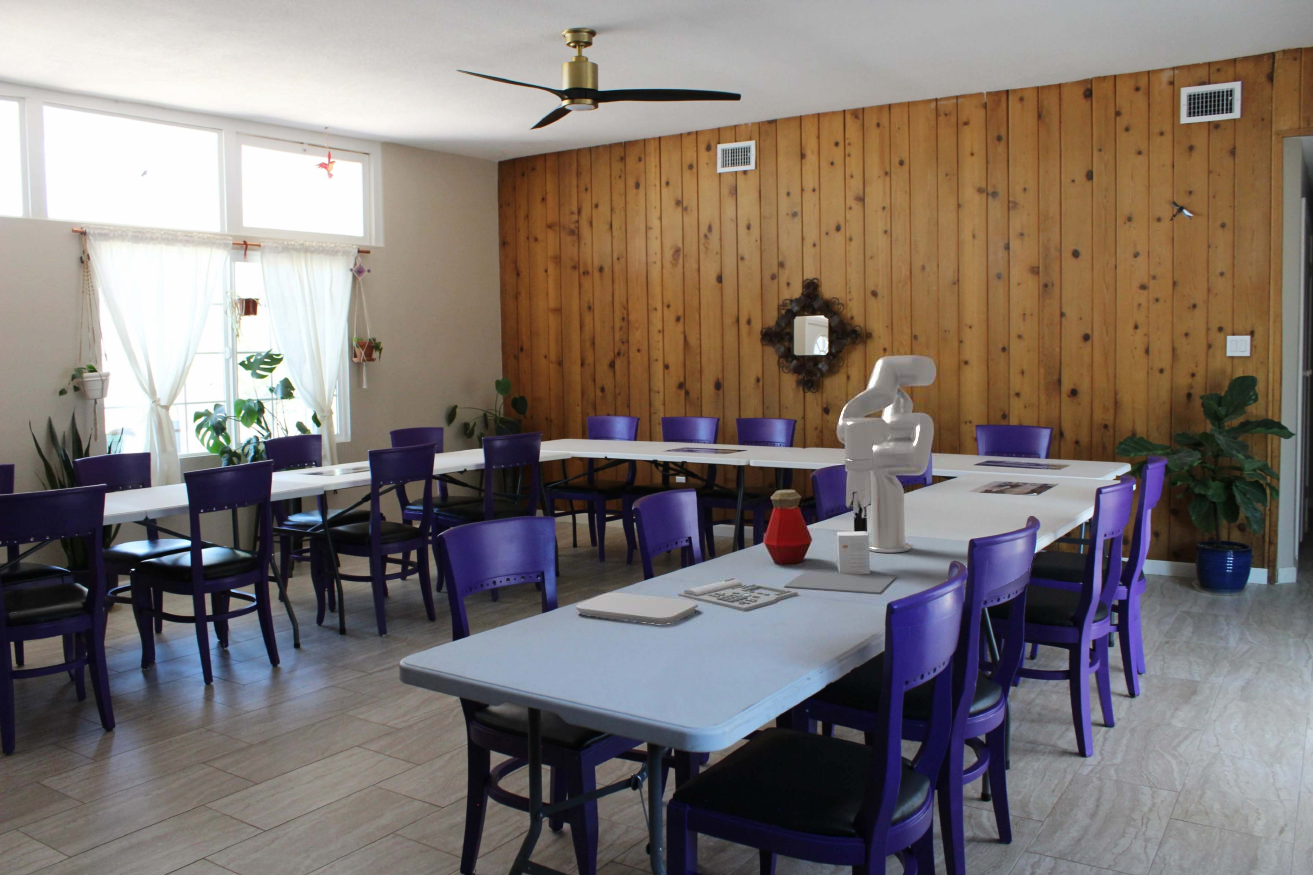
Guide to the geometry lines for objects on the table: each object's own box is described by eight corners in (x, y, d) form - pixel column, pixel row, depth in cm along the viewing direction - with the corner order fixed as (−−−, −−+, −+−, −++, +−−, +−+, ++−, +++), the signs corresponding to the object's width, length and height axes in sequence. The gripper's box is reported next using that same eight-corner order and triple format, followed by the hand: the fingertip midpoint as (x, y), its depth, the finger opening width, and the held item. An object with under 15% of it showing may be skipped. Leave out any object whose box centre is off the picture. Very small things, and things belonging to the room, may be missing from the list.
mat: (805, 572, 262) (805, 571, 262) (895, 577, 252) (895, 576, 252) (784, 587, 246) (784, 585, 246) (879, 593, 235) (879, 592, 235)
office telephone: (676, 588, 242) (733, 574, 255) (677, 598, 242) (734, 584, 255) (743, 601, 224) (801, 586, 237) (744, 613, 224) (802, 597, 237)
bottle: (799, 568, 267) (797, 495, 266) (754, 564, 274) (752, 493, 273) (821, 557, 281) (819, 488, 279) (778, 554, 288) (776, 486, 286)
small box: (867, 569, 263) (866, 530, 262) (870, 574, 257) (869, 534, 256) (837, 570, 264) (836, 531, 263) (839, 574, 258) (838, 535, 257)
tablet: (667, 629, 213) (667, 618, 213) (571, 616, 227) (570, 607, 227) (703, 611, 227) (702, 601, 227) (610, 600, 241) (609, 591, 240)
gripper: (852, 462, 274) (854, 527, 276) (838, 468, 261) (839, 536, 262) (879, 462, 271) (880, 528, 272) (866, 468, 258) (867, 537, 259)
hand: (860, 532), depth 267 cm, fingers closed
